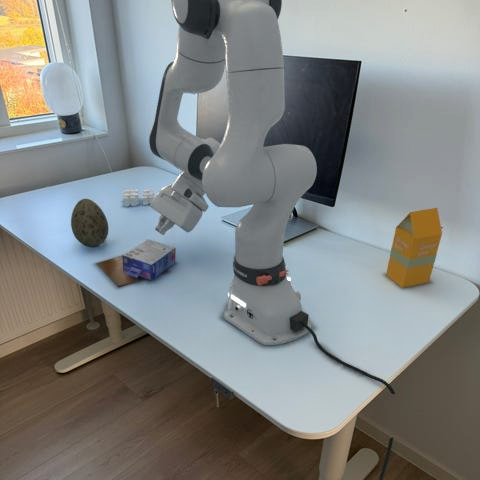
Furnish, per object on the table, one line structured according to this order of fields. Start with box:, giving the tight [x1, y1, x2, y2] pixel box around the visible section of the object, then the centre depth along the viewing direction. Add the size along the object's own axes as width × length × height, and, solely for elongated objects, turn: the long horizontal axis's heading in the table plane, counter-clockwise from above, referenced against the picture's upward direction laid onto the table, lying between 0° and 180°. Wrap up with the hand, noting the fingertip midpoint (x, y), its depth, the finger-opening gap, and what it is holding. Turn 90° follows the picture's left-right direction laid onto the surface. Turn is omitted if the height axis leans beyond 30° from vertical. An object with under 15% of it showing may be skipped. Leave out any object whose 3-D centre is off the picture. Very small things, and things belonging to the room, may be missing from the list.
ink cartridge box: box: [121, 238, 177, 281], centre depth 130 cm, size 10×6×14 cm
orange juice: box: [385, 207, 443, 289], centre depth 122 cm, size 8×9×20 cm
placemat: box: [96, 255, 169, 288], centre depth 133 cm, size 15×16×1 cm
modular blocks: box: [122, 188, 155, 208], centre depth 175 cm, size 20×7×4 cm, turn 101°
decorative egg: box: [70, 198, 109, 248], centre depth 141 cm, size 11×11×15 cm
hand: (158, 232), depth 133 cm, fingers closed
